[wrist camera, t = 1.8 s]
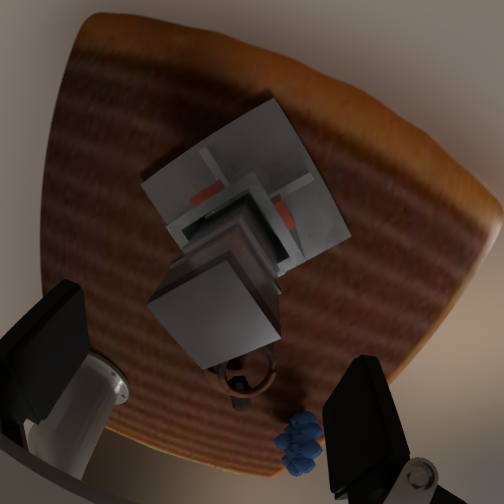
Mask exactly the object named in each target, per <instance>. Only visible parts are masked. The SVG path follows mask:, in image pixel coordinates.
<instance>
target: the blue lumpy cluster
mask: <svg viewBox="0 0 504 504" xmlns="http://www.w3.org/2000/svg"><path fill="white" fill-rule="evenodd" d="M290 421H291V423H292V424H290V425H288V426H287V427H286V428H285V429H284V431H285V433H282V434H280V435H279V436H277V437H276V438H275V439H274V440H273V441H274V443H275V444H276V446H277V447H278V448H279V449H281V450H283V451H284V452H285V454H286V455H285V456H284V457H283V458H282V459H281V460H282V462H283V463H284V465H285V466H286V468H287V470H288V471H289V473H290V474H291V475H293V476H300V475H302V474H303V473H309V472H310V471H311V470H312V469H313V468H314V467H315V465H316V464H315V462H314V461H313V459H314V458H316V457H317V456H318V455H320V453H321V452H322V451H323V450H322V448H321V446H320V444H318V443H317V442H316V441H314V440H316V439H318V438H319V437H320V436H321V434H322V433H323V431H322V429H321V427H320V426H319V425H318V424H317V423H316V422H317V419H316V417H315V415H314V414H313V413H311V412H308V411H307V412H304V413H300V412H299V413H297V414H295V415H294V416H293V417H292V418H291V419H290Z"/></svg>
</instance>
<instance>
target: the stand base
mask: <svg viewBox="0 0 504 504" xmlns="http://www.w3.org/2000/svg"><path fill="white" fill-rule="evenodd" d="M141 186H142V188H143V189H144V191H145V192H146V194H147V195H148V197H149V198H150V200H151V201H152V203H153V204H154V206H155V207H156V209H157V210H158V212H159V213H160V215H161V216H162V218H163V219H164V221H165V222H166V224H167V226H166V228H167V230H168V231H169V232H170V234H171V235H172V237H173V238H174V240H175V241H176V243H177V244H178V245H179V247H180V248H181V250H182V251H183V249H182V247H183V246H184V245H185V244H186V243H188V242H189V241H190V240H191V238H192V237H193V235H194V234H195V233H196V231H197V230H198V228H199V227H200V226H201V224H202V223H203V221H204V220H205V219H206V218H205V215H206V214H208V213H209V212H211V211H212V210H214V209H216V208H217V207H219V206H221V205H222V204H224V203H226V202H227V201H229V200H230V199H232V198H234V197H235V196H237V195H239V194H241V193H242V192H244V191H246V190H247V189H249V190H250V192H251V193H252V195H253V197H254V198H255V200H256V201H257V203H258V205H259V206H260V208H261V209H262V211H263V213H264V214H265V216H266V218H267V219H268V221H269V223H270V224H271V226H272V227H273V229H274V231H275V232H276V235H275V243H276V258H277V265H278V267H279V269H280V272H279V273H278V277H279V276H281V275H283V274H285V273H286V271H288V270H290V269H292V268H294V267H295V266H297V265H299V264H301V263H303V262H305V261H306V260H308V259H310V258H312V257H314V256H316V255H318V254H320V253H322V252H323V251H325V250H327V249H329V248H331V247H333V246H335V245H336V244H338V243H340V242H342V241H344V240H346V239H348V238H349V237H351V234H350V232H349V230H348V228H347V226H346V224H345V222H344V220H343V218H342V216H341V214H340V212H339V210H338V208H337V206H336V204H335V202H334V200H333V198H332V196H331V194H330V193H329V191H328V189H327V187H326V185H325V183H324V181H323V179H322V178H321V176H320V174H319V172H318V170H317V168H316V167H315V165H314V163H313V161H312V160H311V158H310V156H309V154H308V152H307V151H306V149H305V147H304V146H303V144H302V142H301V140H300V139H299V137H298V135H297V134H296V132H295V130H294V129H293V127H292V125H291V124H290V122H289V121H288V119H287V117H286V116H285V114H284V113H283V111H282V109H281V108H280V106H279V105H278V103H277V102H276V100H275V98H272V99H271V100H269V101H267V102H265V103H263V104H262V105H260V106H258V107H256V108H254V109H253V110H251V111H249V112H248V113H246V114H244V115H242V116H241V117H239V118H237V119H236V120H234V121H232V122H231V123H229V124H227V125H226V126H224V127H223V128H221V129H219V130H218V131H216V132H215V133H213V134H212V135H210V136H208V137H207V138H205V139H204V140H202V141H201V142H199V143H198V144H196V145H195V146H193V147H192V148H190V149H189V150H187V151H186V152H185V153H183V154H182V155H180V156H179V157H177V158H176V159H175V160H173V161H172V162H170V163H169V164H167V165H166V166H165V167H163V168H162V169H161V170H159V171H158V172H157V173H155V174H154V175H153V176H151V177H150V178H149V179H147V180H146V181H145V182H143V183H142V184H141Z"/></svg>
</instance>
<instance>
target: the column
mask: <svg viewBox="0 0 504 504" xmlns="http://www.w3.org/2000/svg"><path fill="white" fill-rule="evenodd" d="M205 218H206V219H205V220H204V221H203V223H202V224H201V226H200V227H199V228H198V230H197V231H196V233H195V234H194V235H193V237H192V238H191V240H190V241H189V242H188V243H186V244H185V245H184V246H183V247H182V249H183V251H182V252H181V254H180V255H179V257H178V258H177V259H176V260H174V261H172V262H171V264H170V265H169V266H170V270H169V271H168V273H167V274H166V275H165V277H164V278H163V280H162V281H161V283H160V284H159V286H158V287H157V289H156V290H155V292H154V293H153V295H152V296H151V298H150V299H149V301H148V302H147V304H146V306H147V307H148V308H149V309H150V310H151V312H152V313H153V314H154V315H155V317H156V318H157V319H158V320H159V321H160V323H161V324H162V325H163V326H164V327H165V328H166V330H167V331H168V332H169V333H170V334H171V335H172V337H173V338H174V339H175V340H176V341H177V342H178V343H179V345H180V346H181V347H182V348H183V349H184V350H185V351H186V352H187V353H188V355H189V356H190V357H191V358H192V359H193V360H194V361H195V362H196V363H197V364H198V365H199V366H200V367H201V369H202V370H204V369H207V368H209V367H212V366H215V365H217V364H220V363H223V362H225V361H228V360H230V359H233V358H235V357H238V356H240V355H243V354H245V353H248V352H250V351H253V350H255V349H257V348H260V347H262V346H265V345H267V344H269V343H272V342H274V341H276V340H278V339H281V324H280V306H279V294H281V288H280V286H279V285H278V273H279V272H280V269H279V267H278V265H277V258H276V243H275V235H276V232H275V231H274V229H273V227H272V226H271V224H270V223H269V221H268V219H267V218H266V216H265V214H264V213H263V211H262V209H261V208H260V206H259V205H258V203H257V201H256V200H255V198H254V197H253V195H252V193H251V192H250V190H249V189H247V190H246V191H244V192H242V193H241V194H239V195H237V196H235V197H234V198H232V199H230V200H229V201H227V202H226V203H224V204H222V205H221V206H219V207H217V208H216V209H214V210H212V211H211V212H209V213H208V214H206V215H205Z"/></svg>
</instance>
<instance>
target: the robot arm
mask: <svg viewBox="0 0 504 504" xmlns="http://www.w3.org/2000/svg"><path fill="white" fill-rule="evenodd" d="M129 394H130V387H129V384H128V382H127V380H126V378H125V377H124V375H123V374H122V373H121V372H120V371H119V369H118V368H117V367H115V366H114V365H113V364H112V363H111V362H109V361H108V360H107V359H105V358H103V357H102V356H100V355H98V354H96V353H94V352H91V351H90V343H89V336H88V329H87V320H86V311H85V301H84V292H83V290H82V289H81V287H80V285H79V284H77V283H75V282H72V281H69V280H67V279H64V280H62V281H61V282H60V283H59V284H58V285H57V286H55V287H54V288H53V289H52V290H51V291H50V292H49V293H48V294H46V295H45V296H44V297H43V298H42V299H41V300H40V301H39V302H38V303H37V304H36V305H35V306H34V307H33V308H31V309H30V310H29V311H28V312H27V313H26V314H25V315H24V316H23V317H22V318H21V319H20V320H19V321H18V322H17V323H16V324H15V325H14V326H13V327H12V328H11V329H10V330H9V331H8V332H7V333H6V334H5V335H4V336H3V337H2V338H1V339H0V504H138V503H135V502H132V501H129V500H126V499H123V498H121V497H118V496H116V495H113V494H111V493H108V492H106V491H103V490H101V489H98V488H96V487H94V486H92V485H89V484H87V483H85V482H83V481H81V478H82V475H83V473H84V470H85V468H86V465H87V463H88V460H89V459H90V457H91V454H92V452H93V450H94V448H95V445H96V443H97V441H98V439H99V437H100V434H101V432H102V430H103V428H104V426H105V424H106V422H107V419H108V417H109V415H110V413H111V411H112V409H113V407H114V405H115V404H121V403H124V402H125V401H126V400H127V398H128V397H129ZM322 416H323V425H324V433H325V442H326V451H327V461H328V471H329V482H330V490H331V492H332V493H334V494H335V500H340V499H341V500H342V499H348V503H349V504H467V503H466V502H465V501H463V500H461V499H460V498H458V497H457V496H455V495H453V494H451V493H450V492H448V491H447V490H445V489H444V488H442V487H441V486H439V485H438V479H439V478H438V472H437V470H436V467H435V466H434V465H433V464H432V463H431V462H430V461H429V460H427V459H425V458H420V457H416V458H412V459H411V460H410V456H409V455H410V451H409V448H408V445H407V441H406V438H405V435H404V431H403V428H402V425H401V422H400V419H399V416H398V413H397V410H396V407H395V404H394V401H393V398H392V395H391V392H390V390H389V387H388V384H387V381H386V378H385V376H384V373H383V370H382V368H381V365H380V362H379V360H378V358H377V357H375V356H368V355H360V356H359V357H358V358H355V359H354V360H353V361H352V363H351V364H350V366H349V367H348V369H347V371H346V372H345V374H344V376H343V377H342V379H341V380H340V382H339V383H338V385H337V386H336V388H335V390H334V391H333V393H332V394H331V396H330V397H329V399H328V400H327V401H326V403H325V404H324V406H323V410H322ZM26 418H27V419H29V420H31V421H32V422H34V425H33V426H32V428H31V429H30V431H29V435H28V445H27V440H26V435H25V430H24V425H23V423H24V421H25V420H26ZM28 447H29V449H28ZM29 451H30V452H29Z"/></svg>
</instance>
